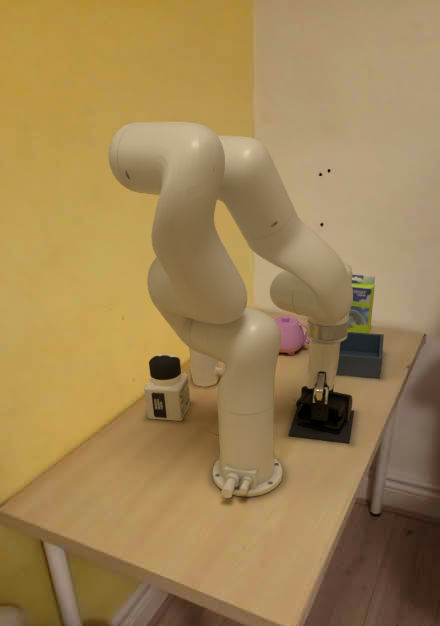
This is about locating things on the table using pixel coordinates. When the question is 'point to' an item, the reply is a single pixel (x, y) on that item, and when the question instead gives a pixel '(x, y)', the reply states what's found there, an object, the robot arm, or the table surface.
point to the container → (167, 389)
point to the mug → (204, 369)
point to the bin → (361, 355)
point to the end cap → (336, 414)
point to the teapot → (291, 334)
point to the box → (361, 304)
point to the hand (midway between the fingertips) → (322, 407)
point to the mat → (321, 435)
